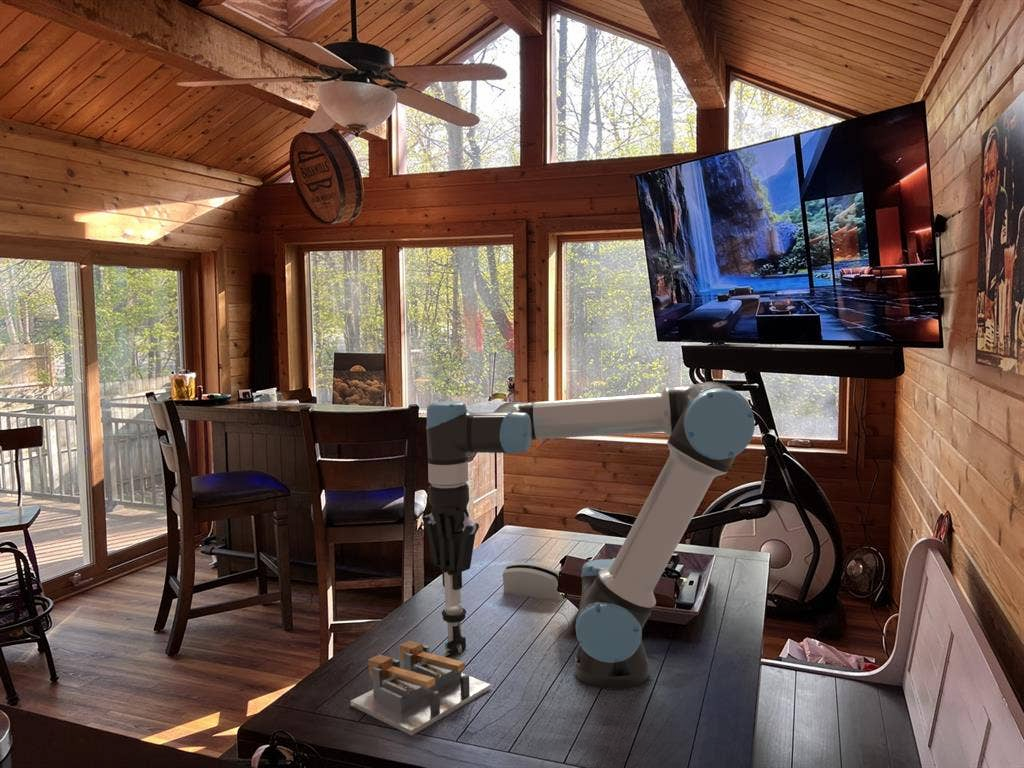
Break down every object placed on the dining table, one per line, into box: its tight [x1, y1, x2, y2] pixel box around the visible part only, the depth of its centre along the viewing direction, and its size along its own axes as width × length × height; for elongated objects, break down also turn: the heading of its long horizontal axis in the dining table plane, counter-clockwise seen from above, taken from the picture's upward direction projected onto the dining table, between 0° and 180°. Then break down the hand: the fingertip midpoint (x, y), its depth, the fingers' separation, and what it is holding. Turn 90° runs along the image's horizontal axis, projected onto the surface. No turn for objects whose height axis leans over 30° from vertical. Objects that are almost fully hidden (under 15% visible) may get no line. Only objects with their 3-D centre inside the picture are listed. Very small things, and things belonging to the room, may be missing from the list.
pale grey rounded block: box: [502, 562, 564, 602], centre depth 200 cm, size 17×5×10 cm, turn 64°
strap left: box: [368, 654, 435, 688], centre depth 145 cm, size 16×3×3 cm, turn 50°
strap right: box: [398, 640, 466, 672], centre depth 152 cm, size 16×3×3 cm, turn 50°
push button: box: [441, 604, 467, 657], centre depth 167 cm, size 7×5×10 cm
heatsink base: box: [350, 643, 492, 737], centre depth 148 cm, size 17×21×7 cm
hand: (453, 604), depth 147 cm, fingers closed
